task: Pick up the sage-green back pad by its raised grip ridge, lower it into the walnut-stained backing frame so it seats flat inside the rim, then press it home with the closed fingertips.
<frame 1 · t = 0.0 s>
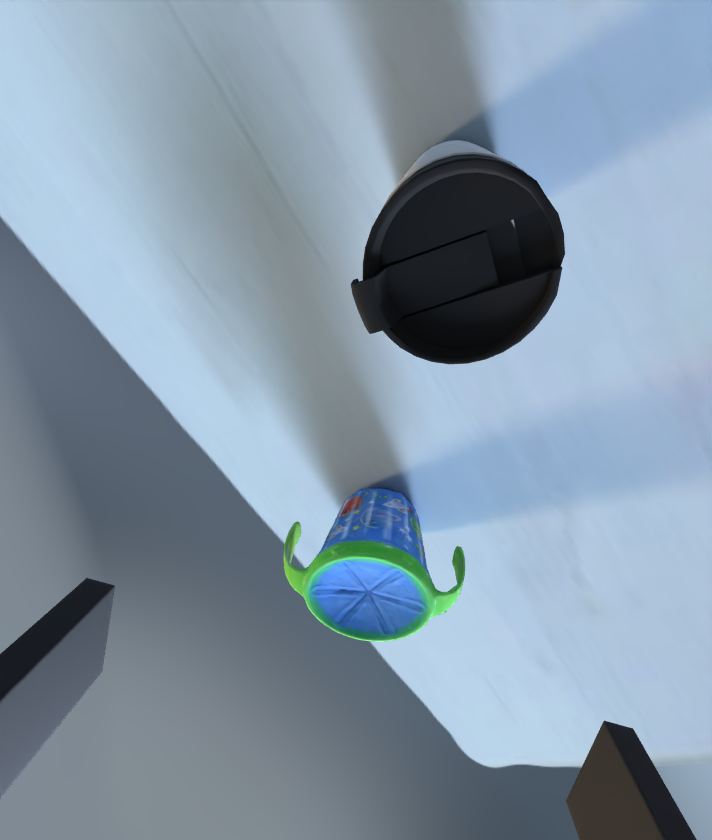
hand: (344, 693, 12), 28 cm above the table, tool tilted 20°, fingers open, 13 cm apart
snack cup: (380, 512, 46), on the table
travel mug: (448, 196, 31), on the table
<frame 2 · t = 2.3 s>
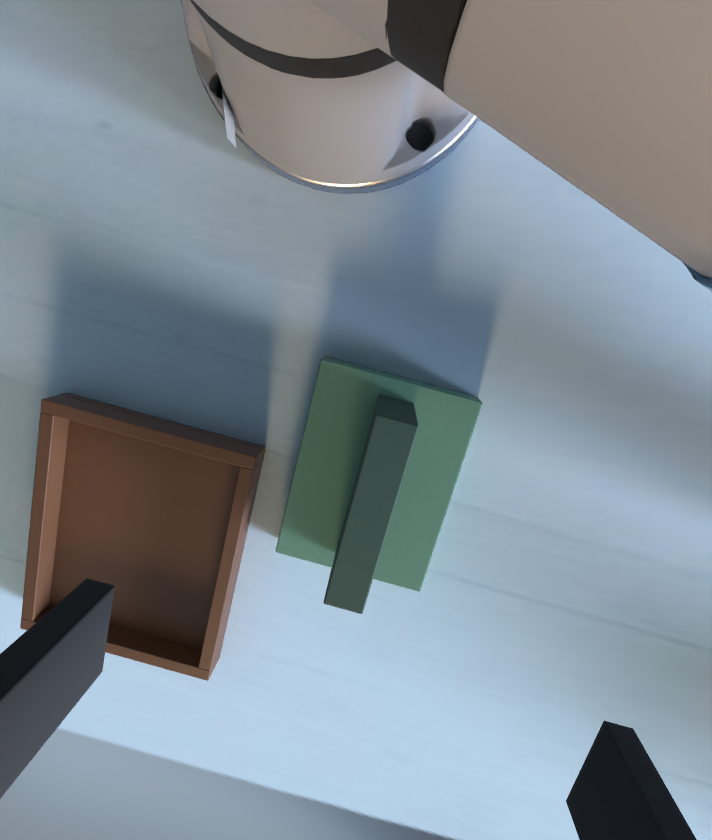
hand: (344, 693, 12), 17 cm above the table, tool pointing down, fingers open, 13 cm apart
back frame: (147, 532, 31), on the table
back pad: (374, 472, 29), on the table
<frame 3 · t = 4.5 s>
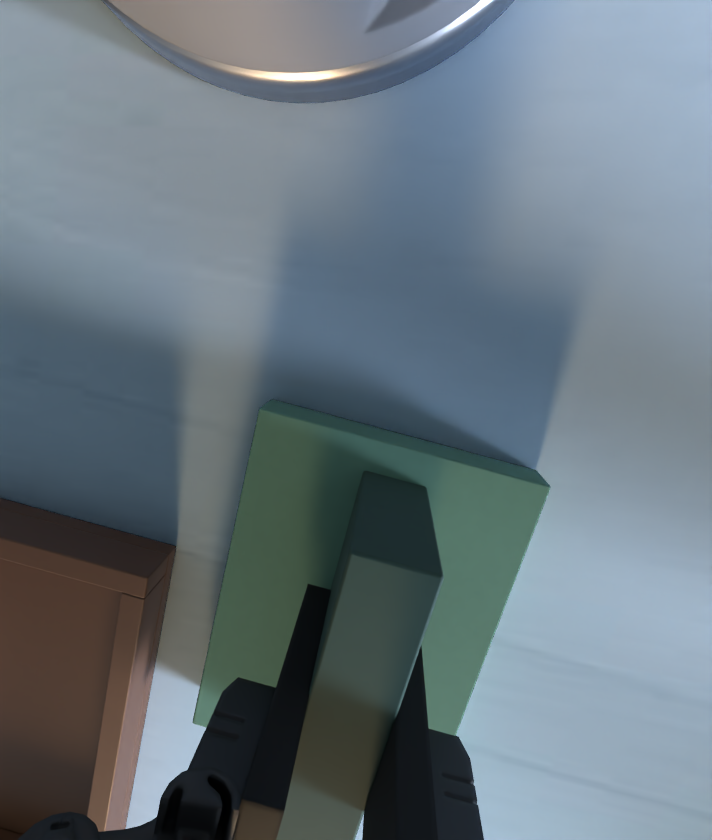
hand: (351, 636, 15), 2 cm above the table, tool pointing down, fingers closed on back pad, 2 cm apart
back pad: (357, 590, 17), on the table, touching gripper
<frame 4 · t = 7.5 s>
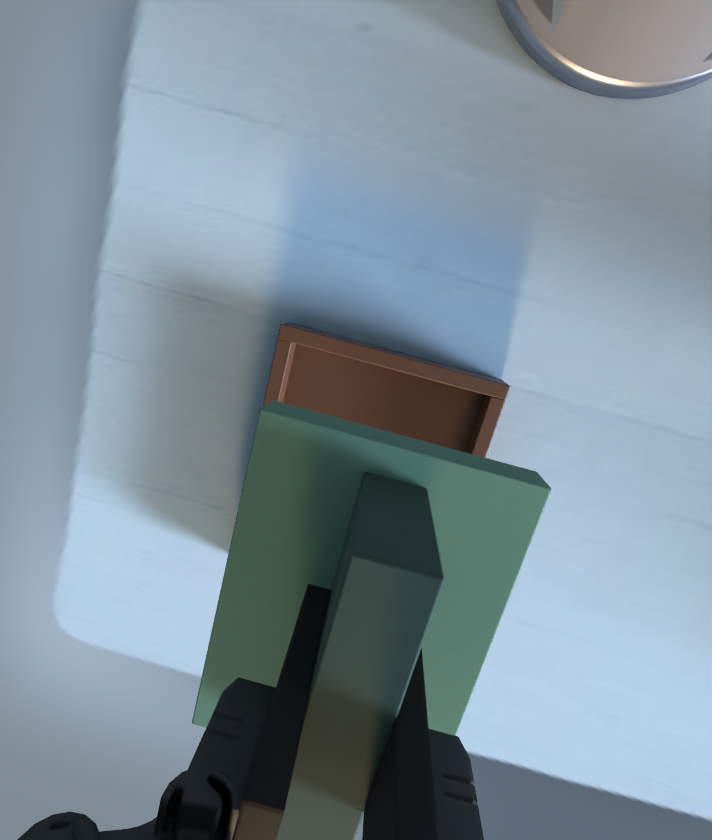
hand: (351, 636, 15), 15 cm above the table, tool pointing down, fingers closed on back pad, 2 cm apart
back frame: (360, 475, 29), on the table
back pad: (357, 591, 17), point 12 cm above the table, touching gripper
when the fingers open (3 cm above the table, at t = 10.4 s): back pad stays where it is, resting on back frame.
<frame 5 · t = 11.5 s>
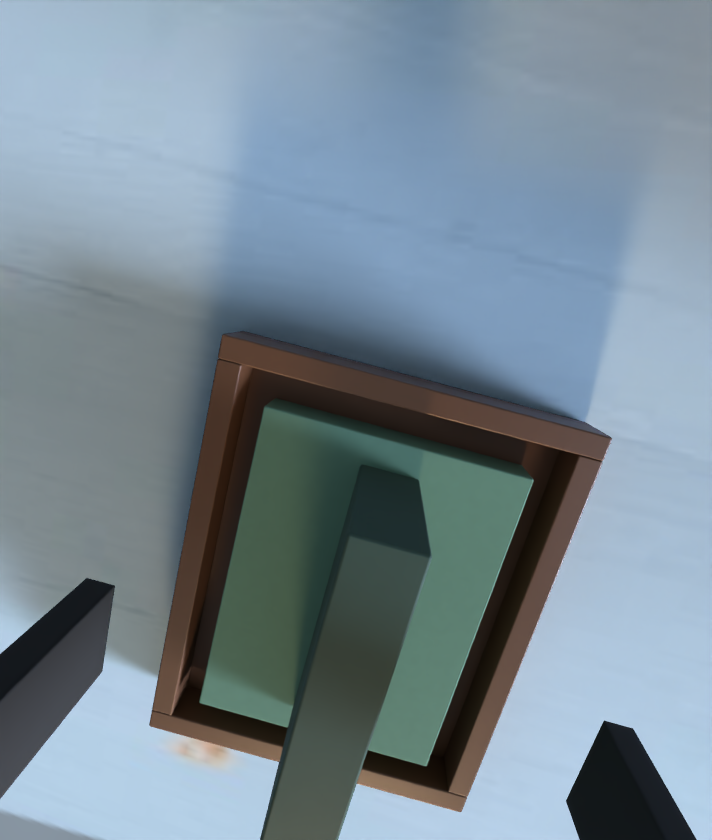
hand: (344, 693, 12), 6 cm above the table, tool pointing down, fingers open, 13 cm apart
back frame: (358, 567, 19), on the table
back pad: (355, 577, 18), point 1 cm above the table, touching back frame
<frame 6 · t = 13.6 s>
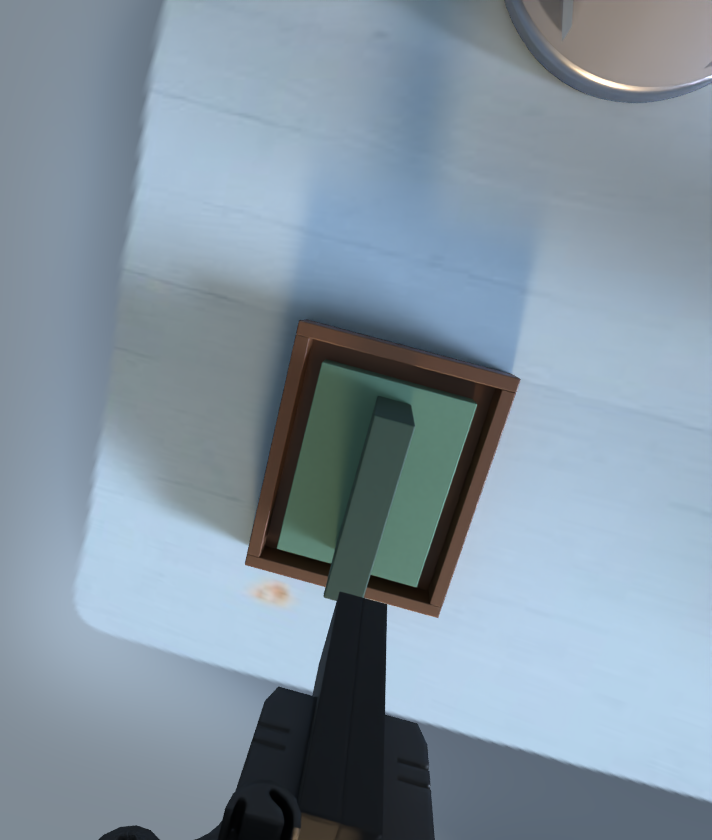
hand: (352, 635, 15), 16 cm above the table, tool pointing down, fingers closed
back frame: (374, 467, 30), on the table
back pad: (372, 471, 29), point 1 cm above the table, touching back frame
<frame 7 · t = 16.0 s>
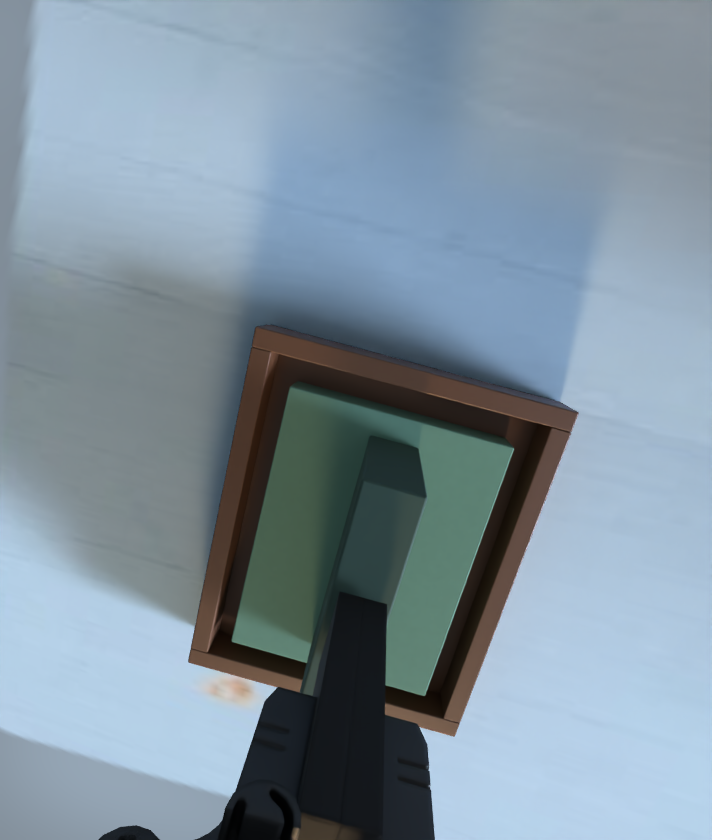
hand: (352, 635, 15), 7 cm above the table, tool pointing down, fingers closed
back frame: (366, 527, 22), on the table
back pad: (364, 535, 21), point 1 cm above the table, touching back frame, gripper
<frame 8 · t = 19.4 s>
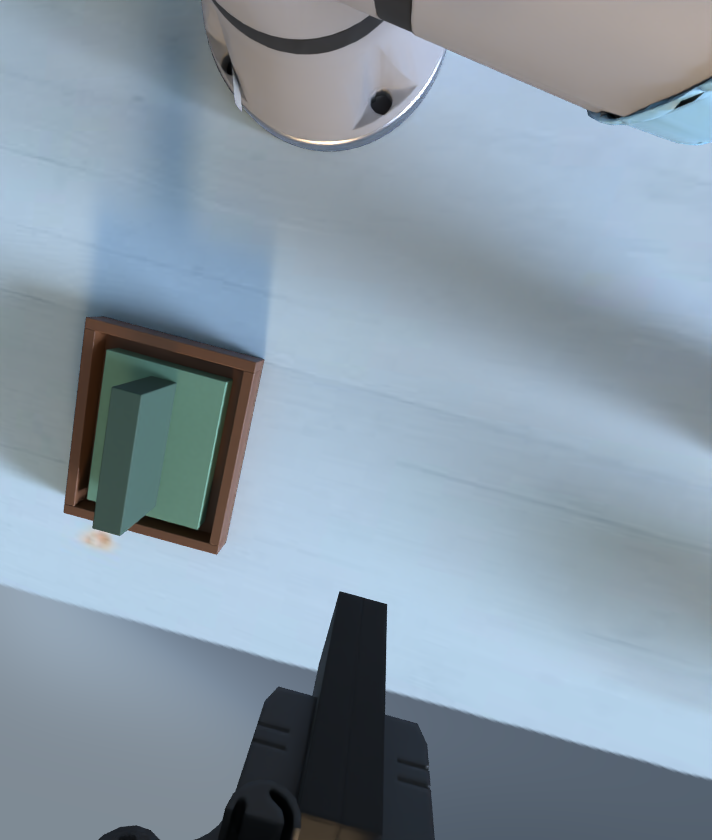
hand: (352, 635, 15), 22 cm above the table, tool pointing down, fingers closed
back frame: (167, 434, 38), on the table
back pad: (162, 437, 37), point 1 cm above the table, touching back frame
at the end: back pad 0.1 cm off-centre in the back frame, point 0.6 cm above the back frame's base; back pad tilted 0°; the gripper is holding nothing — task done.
